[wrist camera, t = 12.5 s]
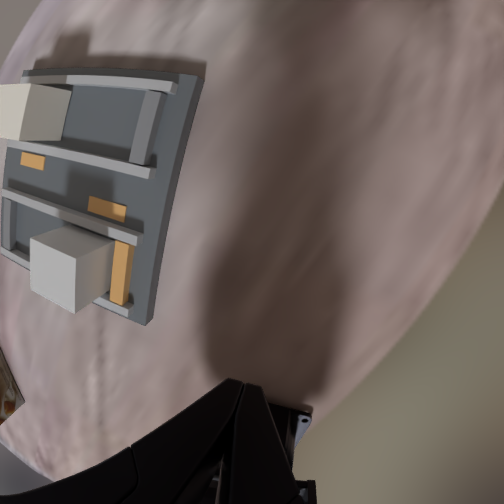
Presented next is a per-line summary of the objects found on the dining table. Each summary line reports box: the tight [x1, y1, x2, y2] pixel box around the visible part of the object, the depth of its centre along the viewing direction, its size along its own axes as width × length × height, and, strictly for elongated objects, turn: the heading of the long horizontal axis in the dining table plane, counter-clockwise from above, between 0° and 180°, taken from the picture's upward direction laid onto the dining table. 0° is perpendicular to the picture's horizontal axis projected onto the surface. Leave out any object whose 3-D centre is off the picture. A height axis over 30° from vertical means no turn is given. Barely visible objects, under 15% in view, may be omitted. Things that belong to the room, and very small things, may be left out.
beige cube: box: [0, 83, 72, 141], centre depth 15 cm, size 4×4×4 cm
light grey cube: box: [30, 225, 115, 314], centre depth 17 cm, size 4×4×4 cm
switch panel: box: [1, 68, 204, 326], centre depth 19 cm, size 16×16×2 cm
